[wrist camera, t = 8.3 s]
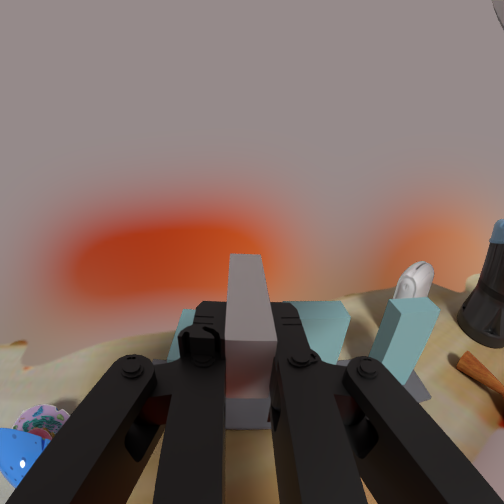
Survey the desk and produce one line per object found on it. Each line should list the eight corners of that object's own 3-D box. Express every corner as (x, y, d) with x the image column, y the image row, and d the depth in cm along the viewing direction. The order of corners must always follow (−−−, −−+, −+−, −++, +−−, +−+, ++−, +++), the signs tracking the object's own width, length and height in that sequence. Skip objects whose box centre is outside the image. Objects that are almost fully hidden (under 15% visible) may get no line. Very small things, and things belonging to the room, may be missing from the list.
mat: (400, 354, 35) (401, 352, 35) (430, 399, 26) (431, 397, 26) (153, 361, 32) (153, 359, 32) (136, 420, 23) (135, 418, 23)
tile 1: (395, 369, 32) (426, 296, 27) (404, 384, 29) (440, 309, 24) (359, 375, 31) (387, 298, 27) (367, 392, 28) (401, 313, 24)
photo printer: (397, 344, 37) (422, 276, 33) (377, 332, 41) (398, 265, 36) (420, 322, 43) (440, 262, 39) (402, 312, 46) (420, 254, 42)
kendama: (477, 341, 30) (555, 398, 12) (461, 371, 32) (532, 430, 13) (464, 345, 28) (551, 412, 10) (446, 378, 30) (524, 447, 11)
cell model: (96, 422, 21) (64, 362, 18) (112, 518, 11) (61, 485, 8) (25, 422, 17) (-15, 363, 14) (25, 509, 7) (-39, 463, 4)
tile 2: (317, 380, 31) (339, 299, 26) (323, 398, 28) (350, 317, 23) (269, 382, 30) (282, 300, 26) (272, 402, 27) (287, 319, 23)
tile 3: (219, 382, 29) (222, 328, 41) (219, 363, 29) (222, 311, 40) (170, 378, 29) (184, 326, 40) (166, 359, 28) (183, 309, 40)
